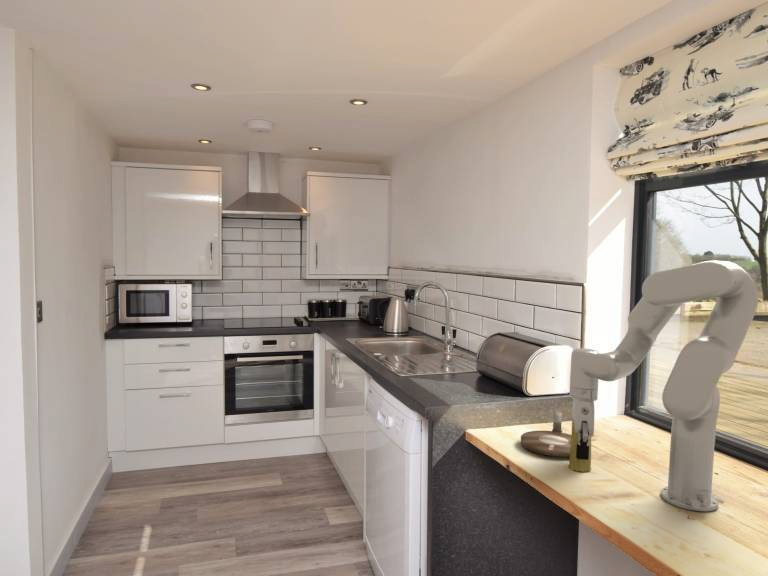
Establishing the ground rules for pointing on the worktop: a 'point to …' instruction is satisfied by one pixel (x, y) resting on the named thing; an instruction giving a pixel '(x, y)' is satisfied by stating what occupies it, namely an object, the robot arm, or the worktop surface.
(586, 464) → the vase
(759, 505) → the worktop surface
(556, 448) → the turntable
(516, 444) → the worktop surface
